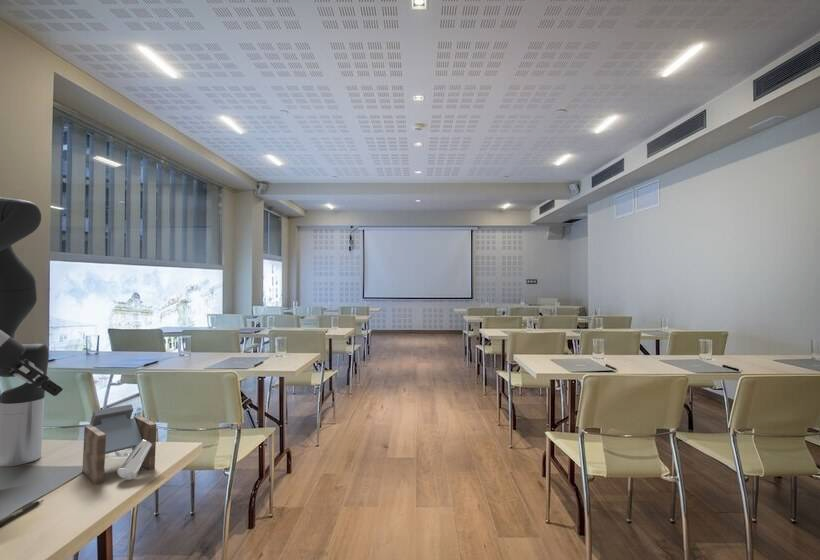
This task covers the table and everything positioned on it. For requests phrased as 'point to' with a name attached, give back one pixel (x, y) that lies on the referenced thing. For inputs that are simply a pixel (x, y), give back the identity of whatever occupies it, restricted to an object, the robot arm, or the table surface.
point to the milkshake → (134, 460)
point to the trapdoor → (117, 427)
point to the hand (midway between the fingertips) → (54, 390)
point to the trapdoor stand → (96, 448)
